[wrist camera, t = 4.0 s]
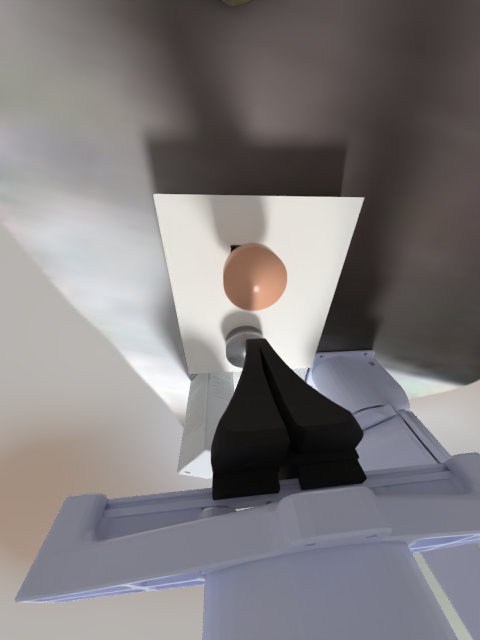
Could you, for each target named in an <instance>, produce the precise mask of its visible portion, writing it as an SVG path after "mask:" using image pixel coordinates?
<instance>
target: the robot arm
mask: <svg viewBox="0 0 480 640" xmlns="http://www.w3.org/2000/svg"><path fill="white" fill-rule="evenodd" d="M374 354H375V352H374V351H373V350H363V351H342V352H321V353H315V356H314V360H313V363H312V366H311V368H310V369H309V373H308V376H307V379H306V382H305V381H304V380H302V379H301V378H300V377H299V376H298V375H297V374H296V373H295V372H294V371H293V370H292V369H291V368H290V367H289V366H288V365H287V364H286V363H285V362H284V361H283V360H282V359H281V358H280V356H279V355H278V354H277V353H276V352H275V350H274V349H273V348H272V346H271V345H270V344H269V342H268V341H267V339H265V338H259V339H247V340H246V350H245V362H244V366H243V370H242V373H241V376H240V379H239V382H238V384H237V387H236V389H235V392H234V394H233V396H232V398H231V400H230V402H229V404H228V406H227V408H226V410H225V412H224V413H223V415H222V417H221V418H220V420H219V422H218V425H217V428H216V431H215V434H214V437H213V441H212V445H211V467H212V472H213V484H212V488H205V489H196V490H187V491H178V492H168V493H160V494H150V495H141V496H133V497H123V498H113V499H107V497H106V496H105V495H104V494H101V493H89V494H80V495H70V496H68V497H67V498H66V500H65V501H64V503H63V505H62V507H61V509H60V511H59V513H58V515H57V517H56V519H55V521H54V523H53V525H52V527H51V529H50V531H49V533H48V535H47V537H46V539H45V541H44V543H43V545H42V547H41V549H40V550H39V553H38V555H37V556H36V558H35V560H34V563H33V564H32V566H31V568H30V570H29V572H28V574H27V576H26V578H25V580H24V582H23V584H22V586H21V588H20V590H19V592H18V594H17V596H16V598H15V601H16V602H23V603H62V602H68V601H76V600H83V599H90V598H98V597H105V596H114V595H122V594H130V593H139V592H147V591H155V590H163V589H172V588H181V587H189V586H197V585H205V587H204V612H203V637H202V638H203V639H202V640H458V639H457V637H456V635H455V633H454V631H453V629H452V628H451V626H450V624H449V622H448V620H447V618H446V616H445V614H444V613H443V611H442V609H441V607H440V605H439V603H438V601H437V600H436V598H435V596H434V594H433V592H432V590H431V588H430V586H429V584H428V583H427V581H426V579H425V577H424V575H423V573H422V571H421V569H420V568H419V566H418V564H417V562H416V560H415V558H414V557H413V554H412V553H417V552H418V553H419V554H421V555H422V557H423V559H424V560H425V562H426V564H427V565H428V567H429V568H430V570H431V572H432V573H433V575H434V577H435V578H436V580H437V582H438V583H439V585H440V586H441V588H442V590H443V591H444V593H445V595H446V596H447V598H448V600H450V603H451V604H452V606H453V608H454V609H455V611H456V613H457V614H458V616H459V618H460V619H461V621H462V622H463V624H464V625H465V627H466V629H467V630H468V632H469V634H470V635H471V637H472V639H473V640H480V454H479V453H476V452H475V453H466V454H458V455H454V456H451V455H450V454H449V453H448V452H447V451H446V450H445V448H444V447H442V445H441V444H440V443H439V442H438V440H436V438H435V437H434V436H433V435H432V434H431V433H430V432H429V430H428V429H427V428H426V427H425V426H424V425H423V424H422V423H421V421H420V420H419V419H418V418H417V417H416V416H415V415H414V414H413V412H411V411H409V410H410V405H409V401H408V398H407V395H406V393H405V392H404V390H403V389H402V387H401V386H400V385H399V384H398V383H397V382H396V381H395V380H394V379H393V377H392V376H391V375H390V374H389V373H388V372H387V371H386V370H385V369H384V368H383V367H382V366H381V365H380V364H379V363H378V362H377V360H376V359H375V358H374V357H373V356H374ZM314 388H317V390H318V391H317V390H315V389H314ZM249 507H254V508H249ZM241 508H249V509H245V510H240V511H236V510H235V509H241Z"/></svg>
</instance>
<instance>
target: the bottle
mask: <svg viewBox="0 0 480 640" xmlns="http://www.w3.org/2000/svg"><path fill="white" fill-rule="evenodd" d="M221 1H222V2H224V3H226V4H227V5H229V6H231V7H234V6H237V5H241V4H244V3H247V2H250V1H253V0H221Z"/></svg>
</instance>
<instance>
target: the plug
mask: <svg viewBox="0 0 480 640" xmlns="http://www.w3.org/2000/svg"><path fill="white" fill-rule="evenodd" d="M259 338H264V337H263V334H262V333H261V331H260V330H258V329H257V328H255V327H252V326H240V327H237V328H235V329H233V330H232V331H231V332H230V333H229V334H228V335H227V337H226V358H227V360H228V361H229V362H230V363H231V364H232V365H234V366H236V367H239V368H243V366H244V362H245V350H246V340H247V339H259Z"/></svg>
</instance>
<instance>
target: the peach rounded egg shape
mask: <svg viewBox="0 0 480 640" xmlns="http://www.w3.org/2000/svg"><path fill="white" fill-rule="evenodd" d="M286 285H287V271H286V268H285V265H284V263H283V262H282V261H281V259H280V258H279V257H278V256H277V255H276V254H275V253H274V252H273V251H272V250H271V249H270V248H269V247H267V246H265V245H262V244H259V243H248V244H244V245H241V246H239V247H237V248H236V249H234V250H233V251H232V252H231V253H230V255H229V256H228V257H227V259H226V261H225V264H224V268H223V286H224V291H225V294H226V296H227V297H228V299H229V300H230V301H231V302H232V303H233V304H234V305H235V306H237V307H239V308H241V309H244V310H248V311H258V310H262V309H265V308H268V307H270V306H271V305H273V304H274V303H276V302H277V301H278V300H279V298H280V297H281V296H282V294H283V293H284V291H285V288H286Z"/></svg>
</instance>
